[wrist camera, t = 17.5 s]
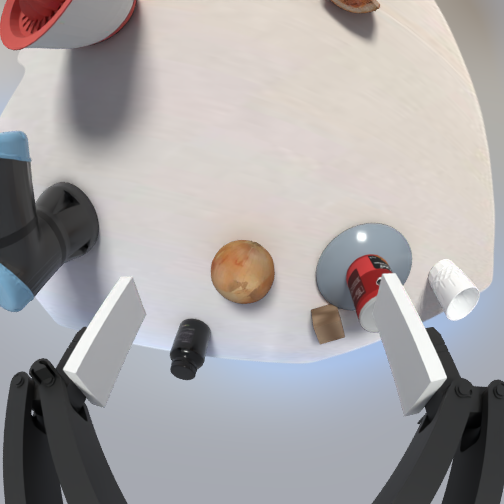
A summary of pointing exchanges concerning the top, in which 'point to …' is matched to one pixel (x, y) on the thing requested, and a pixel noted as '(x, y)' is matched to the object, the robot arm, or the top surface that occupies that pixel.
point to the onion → (242, 271)
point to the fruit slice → (357, 5)
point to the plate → (352, 247)
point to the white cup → (453, 289)
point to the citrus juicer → (62, 22)
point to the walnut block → (327, 323)
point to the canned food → (366, 287)
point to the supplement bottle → (189, 348)
